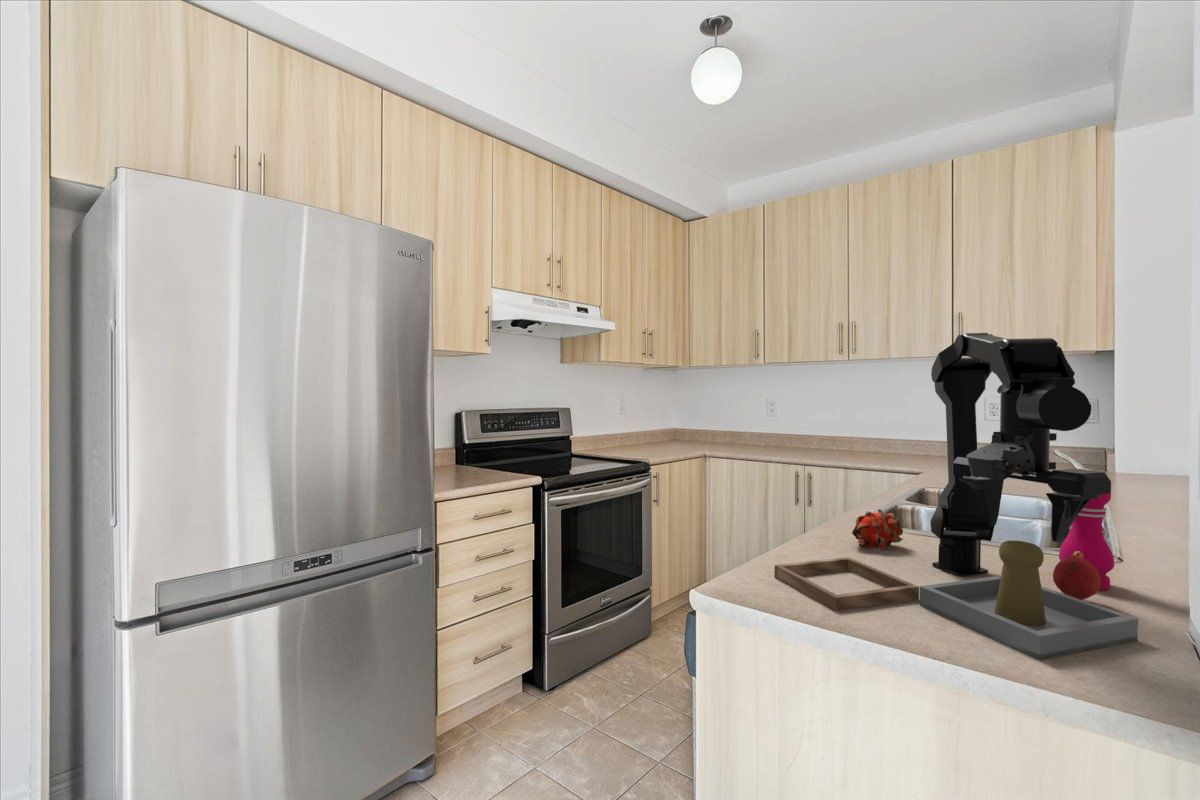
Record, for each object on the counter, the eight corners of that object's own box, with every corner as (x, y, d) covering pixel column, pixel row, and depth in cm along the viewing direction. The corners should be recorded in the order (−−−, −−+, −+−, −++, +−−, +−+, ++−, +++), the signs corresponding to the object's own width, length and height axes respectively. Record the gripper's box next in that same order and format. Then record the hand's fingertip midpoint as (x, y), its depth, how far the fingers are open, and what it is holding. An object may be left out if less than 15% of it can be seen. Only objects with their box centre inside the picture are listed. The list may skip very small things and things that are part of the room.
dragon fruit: (906, 553, 119) (858, 566, 116) (880, 522, 125) (834, 534, 122) (921, 528, 113) (871, 540, 111) (893, 497, 120) (845, 508, 117)
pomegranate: (1089, 611, 84) (1090, 559, 84) (1045, 598, 90) (1046, 549, 89) (1107, 604, 87) (1108, 553, 87) (1063, 592, 92) (1064, 544, 92)
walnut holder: (848, 567, 105) (848, 557, 105) (919, 599, 89) (919, 586, 89) (774, 576, 100) (774, 565, 100) (835, 610, 85) (835, 597, 85)
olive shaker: (1056, 627, 77) (1057, 549, 77) (1007, 624, 78) (1008, 547, 78) (1031, 610, 83) (1032, 537, 83) (986, 607, 84) (987, 535, 84)
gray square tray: (1005, 592, 92) (1006, 574, 92) (1137, 640, 75) (1137, 618, 75) (919, 605, 87) (919, 586, 87) (1039, 659, 70) (1040, 636, 70)
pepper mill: (1118, 594, 91) (1121, 473, 90) (1062, 586, 95) (1064, 469, 94) (1108, 581, 97) (1110, 467, 96) (1055, 574, 101) (1057, 464, 100)
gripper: (925, 422, 87) (924, 521, 87) (1053, 432, 69) (1050, 557, 69) (979, 421, 90) (978, 517, 90) (1115, 430, 72) (1112, 549, 72)
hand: (1022, 533), depth 80 cm, fingers open, 9 cm apart
